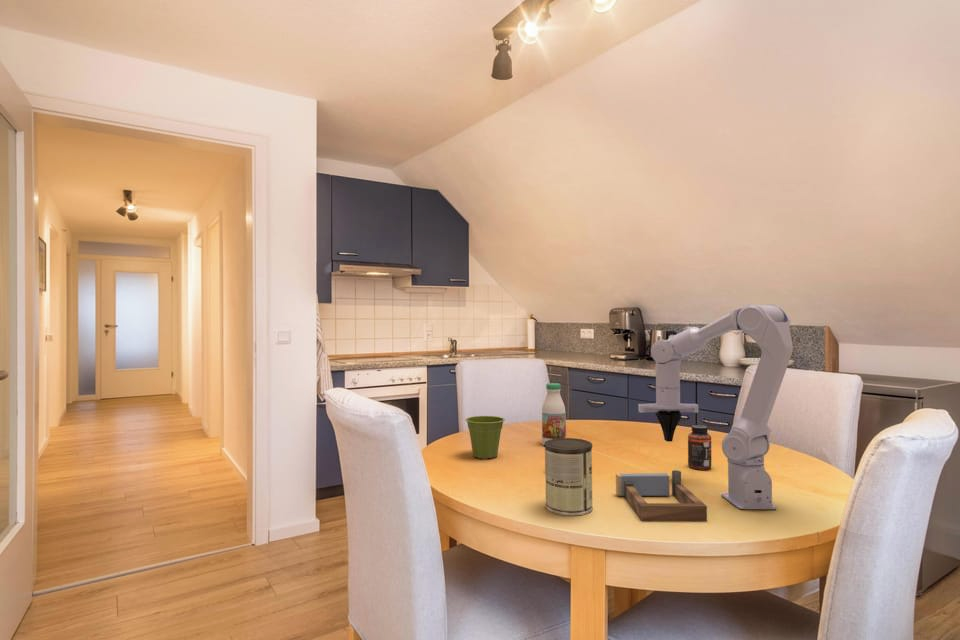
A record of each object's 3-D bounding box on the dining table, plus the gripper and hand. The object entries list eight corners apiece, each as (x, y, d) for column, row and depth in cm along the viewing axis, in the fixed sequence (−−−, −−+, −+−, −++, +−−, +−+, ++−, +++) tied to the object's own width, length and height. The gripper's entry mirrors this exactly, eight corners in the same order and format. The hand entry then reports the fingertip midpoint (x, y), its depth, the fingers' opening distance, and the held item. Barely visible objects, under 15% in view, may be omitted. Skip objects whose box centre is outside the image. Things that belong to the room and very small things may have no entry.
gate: (666, 492, 124) (666, 473, 124) (669, 495, 122) (669, 475, 122) (615, 492, 125) (615, 473, 125) (618, 495, 123) (617, 476, 123)
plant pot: (511, 459, 156) (511, 420, 156) (474, 463, 152) (473, 424, 152) (495, 449, 167) (495, 414, 167) (460, 453, 163) (459, 417, 163)
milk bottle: (537, 443, 175) (537, 383, 175) (557, 441, 178) (556, 381, 178) (550, 449, 168) (549, 385, 168) (570, 446, 171) (570, 384, 171)
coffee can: (541, 499, 121) (541, 438, 121) (586, 499, 121) (586, 437, 121) (549, 516, 111) (548, 449, 111) (598, 515, 111) (597, 448, 111)
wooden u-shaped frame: (707, 520, 108) (707, 493, 108) (641, 520, 108) (641, 493, 108) (679, 493, 124) (679, 470, 124) (622, 493, 125) (622, 470, 125)
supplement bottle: (713, 471, 142) (713, 428, 142) (690, 470, 144) (689, 428, 144) (708, 465, 148) (708, 424, 148) (686, 464, 149) (686, 423, 149)
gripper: (691, 385, 139) (691, 437, 139) (635, 385, 139) (635, 437, 139) (701, 388, 132) (701, 443, 132) (642, 388, 132) (642, 443, 132)
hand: (668, 440), depth 135 cm, fingers closed
